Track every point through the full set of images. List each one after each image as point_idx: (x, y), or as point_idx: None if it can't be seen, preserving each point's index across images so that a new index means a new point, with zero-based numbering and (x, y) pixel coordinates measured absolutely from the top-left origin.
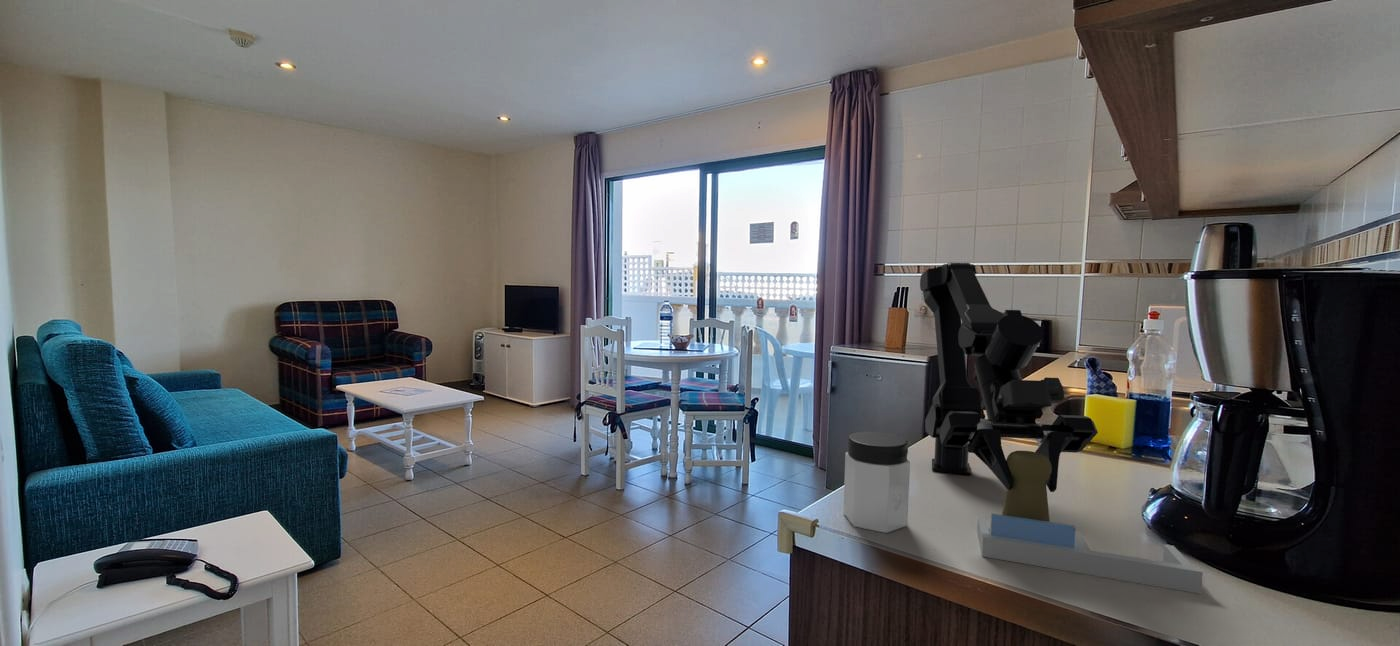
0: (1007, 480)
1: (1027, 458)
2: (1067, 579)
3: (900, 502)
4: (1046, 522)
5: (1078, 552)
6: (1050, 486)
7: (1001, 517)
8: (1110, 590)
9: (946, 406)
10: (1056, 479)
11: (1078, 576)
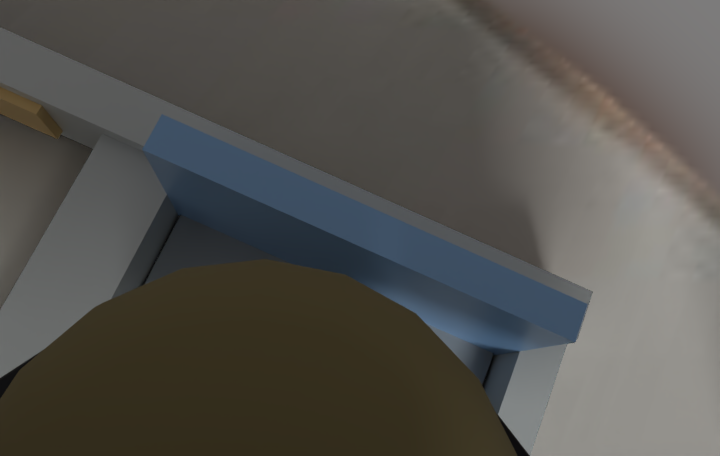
0: (510, 433)
1: (394, 365)
2: (287, 103)
3: None
4: (294, 195)
5: (192, 113)
6: None
7: (535, 284)
8: (170, 18)
9: None
10: (1, 383)
11: (220, 123)
